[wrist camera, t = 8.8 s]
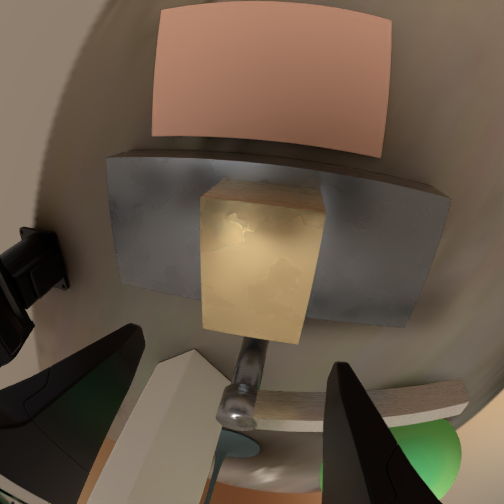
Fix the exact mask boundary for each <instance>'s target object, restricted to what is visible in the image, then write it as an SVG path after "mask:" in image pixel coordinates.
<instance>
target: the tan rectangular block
mask: <svg viewBox="0 0 504 504" xmlns="http://www.w3.org/2000/svg"><path fill="white" fill-rule="evenodd" d="M325 217H326V210H325V206H324V202H323V198H322V194H321V191H319V190H312V189H305V188H298V187H291V186H283V185H275V184H266V183H258V182H248V181H238V180H228V179H223V180H221V181H220V182H219V183H217V184H216V185H215V186H214V187H212V188H211V189H210V190H209V191H208V192H206V193H205V194H204V195H203V196H201V197H200V257H201V294H202V318H203V328H204V329H209V330H214V331H219V332H224V333H229V334H235V335H241V336H246V337H252V338H258V339H265V340H271V341H278V342H285V343H292V344H298V343H299V339H300V335H301V331H302V327H303V323H304V319H305V314H306V310H307V306H308V301H309V297H310V293H311V288H312V283H313V279H314V274H315V269H316V264H317V259H318V254H319V249H320V244H321V239H322V233H323V228H324V222H325Z"/></svg>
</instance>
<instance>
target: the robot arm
mask: <svg viewBox="0 0 504 504" xmlns="http://www.w3.org/2000/svg"><path fill="white" fill-rule="evenodd" d="M20 235H21V239H22V240H21V241H20V242H18V243H17V244H15V245H14V246H12V247H11V248H9V249H8V250H6V251H5V252H3V253H2V254H1V255H0V367H1V366H3V365H6V364H8V363H9V362H11V361H12V360H13V359H14V358H15V357H16V355H17V354H18V353H19V351H20V349H21V348H22V346H23V344H24V343H25V341H26V339H27V338H28V336H29V334H30V333H31V331H32V330H33V328H34V327H35V324H34V323H33V321H31V319H30V318H29V316H28V314H27V312H26V310H25V309H28V308H29V307H30V306H31V305H33V304H34V303H35V302H36V301H37V300H38V299H40V298H42V297H43V296H44V295H45V294H46V293H47V292H48V291H49V290H51V289H52V288H53V287H56V288H59V289H62V290H65V291H66V290H67V289H68V288H69V284H68V281H67V277H66V274H65V270H64V267H63V263H62V259H61V255H60V251H59V246H58V242H57V237H56V235H55V233H54V232H52V231H46V230H40V229H34V228H28V227H22V228H20ZM144 349H145V339H144V335H143V331H142V328H141V326H139V325H136V324H133V323H129V324H127V325H125V326H123V327H121V328H120V329H118V330H116V331H114V332H112V333H111V334H109V335H107V336H105V337H103V338H102V339H100V340H98V341H96V342H94V343H92V344H91V345H89V346H87V347H85V348H83V349H82V350H80V351H78V352H76V353H74V354H73V355H71V356H69V357H67V358H65V359H63V360H62V361H60V362H58V363H56V364H54V365H53V366H51V367H49V368H47V369H45V370H43V371H41V372H39V373H38V374H36V375H34V376H32V377H30V378H28V379H25V380H23V381H21V382H18V383H16V384H14V385H11V386H9V387H6V388H4V389H2V390H0V504H49V503H51V504H77V501H78V499H79V497H80V494H81V492H82V489H83V487H84V485H85V482H86V480H87V478H88V475H89V472H90V470H91V468H92V466H93V463H94V461H95V459H96V457H97V455H98V452H99V450H100V447H101V446H102V444H103V441H104V439H105V437H106V435H107V433H108V431H109V429H110V426H111V424H112V422H113V420H114V418H115V416H116V414H117V412H118V410H119V408H120V406H121V404H122V402H123V400H124V398H125V396H126V394H127V392H128V390H129V387H130V385H131V383H132V381H133V378H134V375H135V373H136V370H137V367H138V365H139V362H140V359H141V357H142V354H143V351H144ZM397 443H398V442H397V441H396V439H395V437H394V436H393V434H392V432H391V431H390V429H389V427H388V426H387V424H386V423H385V421H384V419H383V418H382V416H381V414H380V413H379V411H378V410H377V408H376V406H375V405H374V403H373V402H372V400H371V398H370V397H369V395H368V394H367V392H366V390H365V389H364V387H363V386H362V384H361V382H360V381H359V379H358V378H357V376H356V374H355V373H354V371H353V370H352V368H351V367H350V365H349V364H348V363H347V362H338V361H337V362H335V363H334V365H333V367H332V370H331V372H330V374H329V377H328V380H327V389H326V400H325V410H324V419H323V483H322V504H442V503H441V502H440V501H439V499H438V498H437V497H436V496H435V494H434V493H433V492H432V491H431V489H430V488H429V487H428V486H427V484H426V483H425V482H424V481H423V479H422V478H421V477H420V475H419V474H418V473H417V471H416V470H415V469H414V467H413V466H412V465H411V463H410V461H409V460H408V458H407V457H406V455H405V454H404V452H403V450H402V449H401V447H400V445H399V444H397Z"/></svg>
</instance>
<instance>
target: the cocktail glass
mask: <svg viewBox="0 0 504 504" xmlns="http://www.w3.org/2000/svg"><path fill="white" fill-rule="evenodd" d="M259 452H260V446H259V445H258V443H257V442H255V441H254V440H253V439H251V438H249V437H247V436H245V435H243V434H240V433H237V432H234V431H231V430H227V429H223V428H222V429H221V432H220V436H219V439H218V443H217V446H216V449H215V454H216V459H215V466H214V470H213V474H212V478H211V482H210V485H209V489H208V493H207V496H206V499H205V503H204V504H209V502H210V499H211V496H212V492H213V489H214V486H215V482H216V479H217V476H218V473H219V470H220V467H221V464H222V462H223V460H224V458H225V456H228V457H236V458H246V457H252V456H255V455H257V454H258V453H259Z"/></svg>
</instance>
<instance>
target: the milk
mask: <svg viewBox="0 0 504 504" xmlns="http://www.w3.org/2000/svg"><path fill="white" fill-rule="evenodd" d="M228 385H231V382H230V381H229V380H228V379H227V378H226V377H225V376H224V375H222V374H221V373H220V372H219V371H218V370H217V369H216V368H215V367H213V366H212V365H211V364H210V363H209V362H208V361H207V360H206V359H205V358H204V357H203V356H202V355H200V354H199V353H198V352H197V351H196V350H195V349H193V350H191V351H188V352H186V353H183V354H181V355H178V356H176V357H173V358H171V359H168V360H166V361H163V362H161V363H158V364H157V366H156V368H155V370H154V372H153V374H152V375H151V377H150V379H149V381H148V383H147V385H146V387H145V388H144V390H143V392H142V394H141V396H140V398H139V400H138V402H137V404H136V405H135V407H134V409H133V411H132V413H131V415H130V417H129V419H128V421H127V423H126V425H125V427H124V429H123V430H122V432H121V434H120V436H119V438H118V440H117V442H116V444H115V446H114V448H113V450H112V452H111V454H110V456H109V458H108V460H107V462H106V464H105V466H104V468H103V470H102V473H101V475H100V477H99V478H98V481H97V483H96V485H95V487H94V489H93V491H92V493H91V495H90V497H89V500H88V502H87V504H199V502H200V499H201V496H202V493H203V489H204V486H205V483H206V479H207V476H208V473H209V470H210V466H211V463H212V459H213V456H214V453H215V449H216V446H217V443H218V439H219V436H220V432H221V429H222V425H221V424H220V423H219V422H218V421H217V420H216V414H217V411H218V407H219V404H220V401H221V398H222V394H223V391H224V388H225V387H226V386H228Z"/></svg>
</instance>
